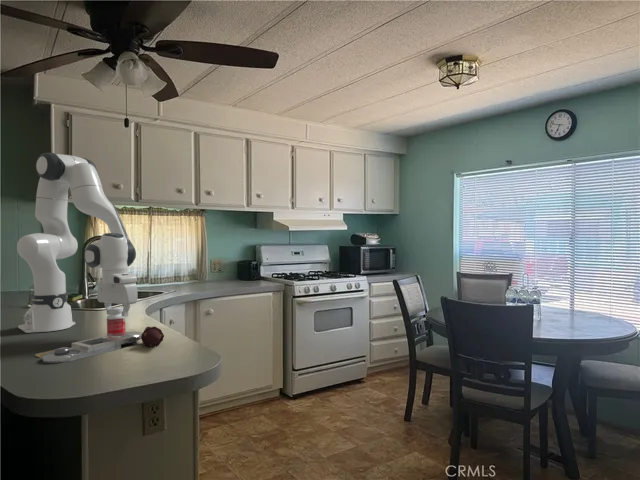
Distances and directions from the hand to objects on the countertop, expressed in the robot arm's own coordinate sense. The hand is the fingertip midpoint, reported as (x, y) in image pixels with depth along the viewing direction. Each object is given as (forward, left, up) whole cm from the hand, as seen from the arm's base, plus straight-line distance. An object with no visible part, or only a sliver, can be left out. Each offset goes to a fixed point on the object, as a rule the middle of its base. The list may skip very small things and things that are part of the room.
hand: (117, 315), depth 164 cm
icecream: (+21, 0, -9) cm, 23 cm away
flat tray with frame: (+9, -13, -9) cm, 18 cm away
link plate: (0, -23, -9) cm, 25 cm away
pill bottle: (-1, 0, -9) cm, 9 cm away
